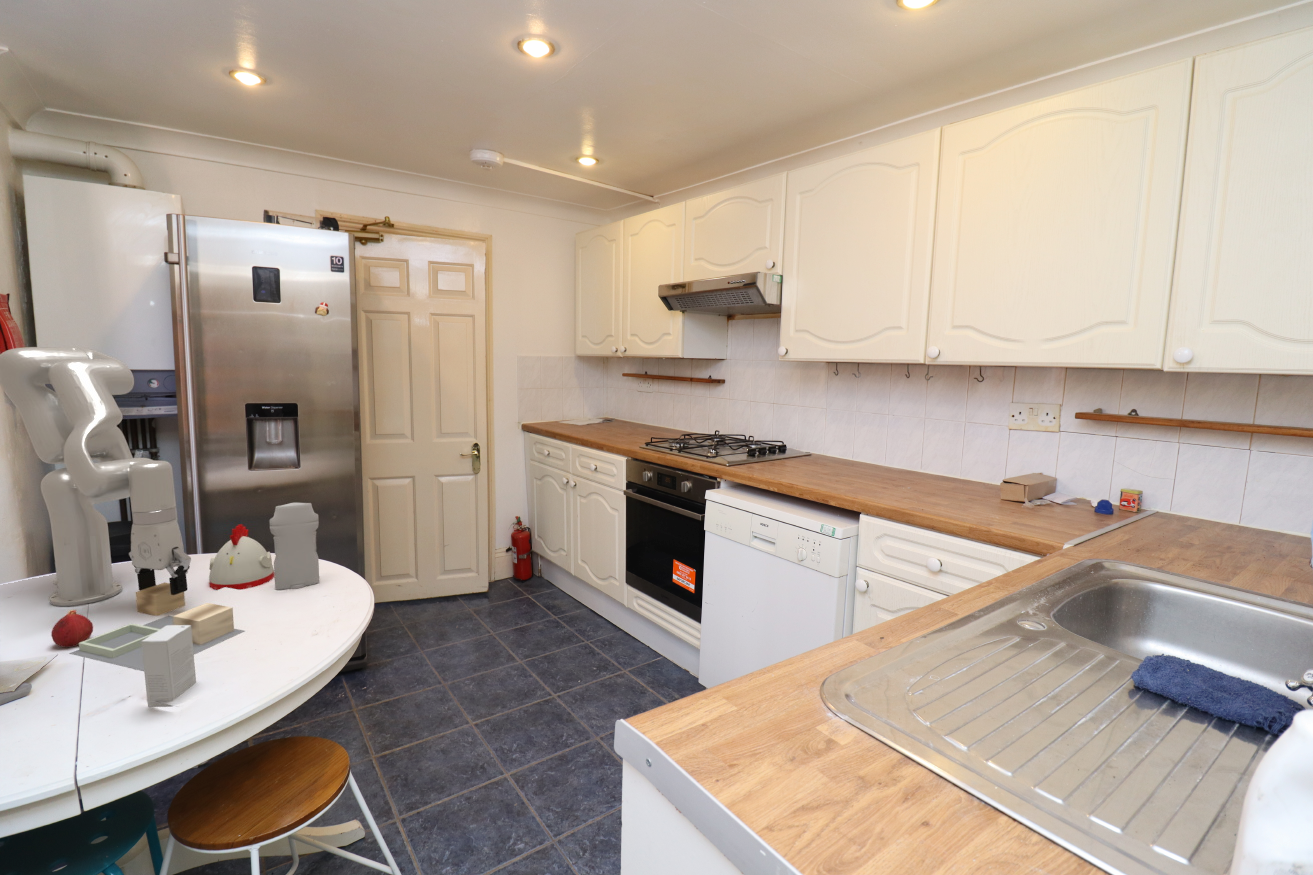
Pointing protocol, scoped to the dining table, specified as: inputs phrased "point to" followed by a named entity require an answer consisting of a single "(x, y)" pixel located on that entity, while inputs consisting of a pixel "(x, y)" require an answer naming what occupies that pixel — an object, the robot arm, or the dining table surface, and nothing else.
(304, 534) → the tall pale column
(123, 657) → the board
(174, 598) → the cube
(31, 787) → the dining table surface
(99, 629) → the dining table surface
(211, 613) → the brown rectangular block
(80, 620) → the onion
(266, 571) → the kitchen timer
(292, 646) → the dining table surface
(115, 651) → the socket
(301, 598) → the dining table surface
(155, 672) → the skincare box
